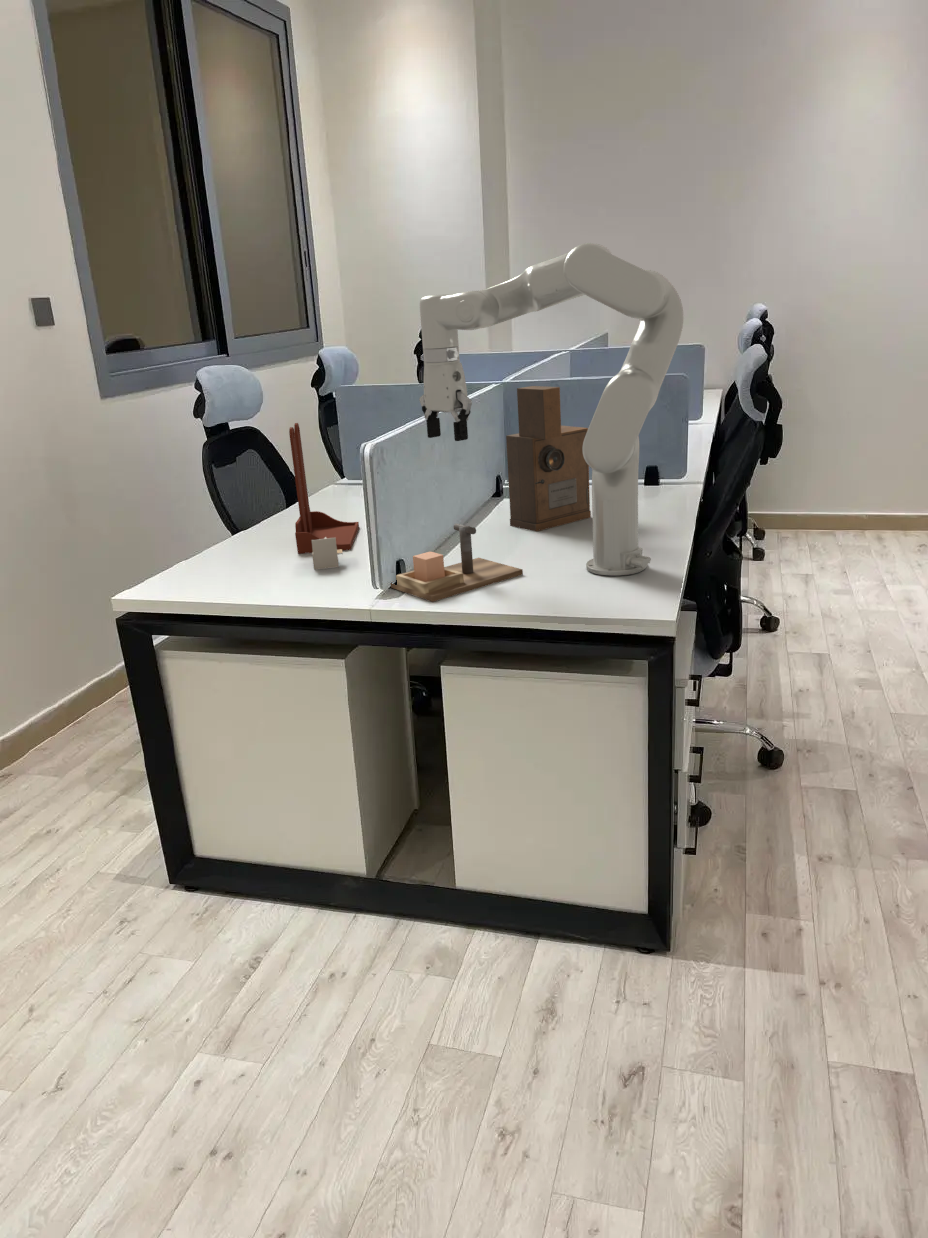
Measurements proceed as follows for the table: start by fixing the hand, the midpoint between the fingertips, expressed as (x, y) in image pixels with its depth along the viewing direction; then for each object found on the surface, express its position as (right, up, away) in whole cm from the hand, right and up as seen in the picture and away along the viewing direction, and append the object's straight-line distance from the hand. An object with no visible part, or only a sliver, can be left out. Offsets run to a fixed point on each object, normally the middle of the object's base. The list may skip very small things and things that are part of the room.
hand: (447, 438), depth 201 cm
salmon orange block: (-4, -32, -8) cm, 33 cm away
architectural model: (-28, -28, +15) cm, 42 cm away
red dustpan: (-31, -19, +40) cm, 54 cm away
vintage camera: (+26, -14, +41) cm, 51 cm away
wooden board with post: (+2, -31, -3) cm, 31 cm away
